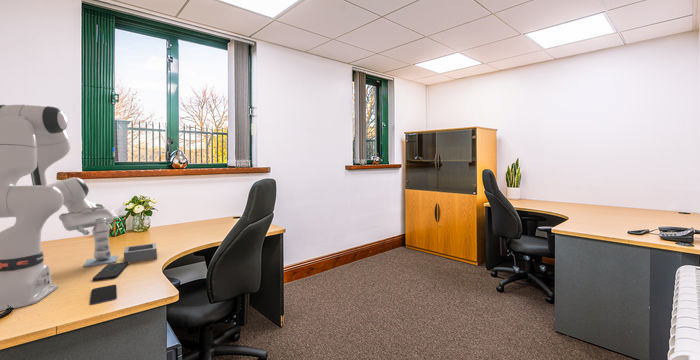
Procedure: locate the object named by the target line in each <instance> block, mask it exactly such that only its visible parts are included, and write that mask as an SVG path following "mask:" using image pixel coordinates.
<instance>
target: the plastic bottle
mask: <svg viewBox="0 0 700 360" xmlns="http://www.w3.org/2000/svg"><path fill="white" fill-rule="evenodd" d="M105 222H106V221H105V218H98V219H96V222H95V223H96V225H95V226H94V227H92V235H93V240H94V253H93V257H94V258H93V259H96V260H105V259H108V258H110V257H111V256H112V250H111V247H110V241H109V237H110V230H109V227H110V226H109V227H108V226H107V225H106V224H105Z"/></svg>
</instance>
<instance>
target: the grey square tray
mask: <svg viewBox="0 0 700 360" xmlns="http://www.w3.org/2000/svg"><path fill="white" fill-rule="evenodd" d="M157 249H158V248H157V243H156V242H154V243H147V244H138V245H131V246H125V247H124V250H123V262H128V264H131V263H135V262H143V261H149V260H155V259H158V254H157V253H158V251H157Z"/></svg>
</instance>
